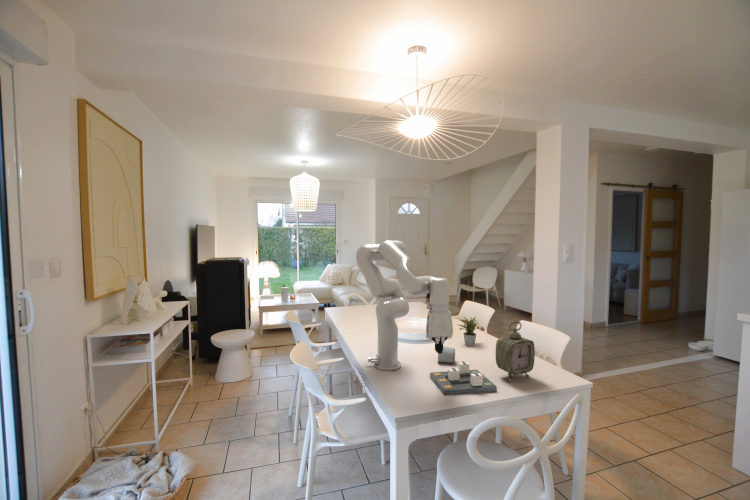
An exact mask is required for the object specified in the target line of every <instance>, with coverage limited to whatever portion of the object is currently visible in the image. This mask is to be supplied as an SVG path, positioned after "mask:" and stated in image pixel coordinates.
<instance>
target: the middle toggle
mask: <svg viewBox="0 0 750 500" xmlns="http://www.w3.org/2000/svg"><path fill="white" fill-rule="evenodd" d="M447 370H448V379H449V380H450V381H454V380H460V370H459V369H458V367H457V368H455V367H450V368H448V369H447Z"/></svg>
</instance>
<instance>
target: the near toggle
mask: <svg viewBox="0 0 750 500" xmlns="http://www.w3.org/2000/svg"><path fill="white" fill-rule="evenodd" d="M480 373H481V372H480ZM480 373H473V374H470V384H471V385H472V386H482V381H483V376H482V375H481V374H480Z"/></svg>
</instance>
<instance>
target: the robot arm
mask: <svg viewBox="0 0 750 500" xmlns="http://www.w3.org/2000/svg"><path fill="white" fill-rule="evenodd" d="M355 261H356V264H357V267H358V269H359V270H360V272H361V274H362V275H363V277H364V279H365V282H366V285H367V287H368V290H369V292H370V294H371V296H372V297H373V298H374V299H376V300H381V299H382V300H381V301H379V302H378V303H377V304H376V307H375V316H376V321H377V354H376V355H375V356H373V357H367V362H368V363H371V364H373V365H374V367H375V368H376V369H378V370H380V371H386V372H388V371H396V370H398V369H400V368H401V366H402V363H401V362H400V361H399V359H398V356H399V355H398V354H399V353H398V352H399V351H398V349H399V348H398V347H399V343H398V342H399V334H398V333H399V332H398V331H399V329H398V325H397V322H396V319H398V318H402V317H405V316H407V315H408V313H409V311H410V305H409V301H408V298H407V297H406V295H405V292H404V291H403V289H404V290H405V291H406V292H407V293H409V294H410V295H412V296H420V295H426V294H429V304H428V305H426V309H427V311H428V312H427V317H426V325H425V327H426V329H425V330H426V331H425V332H426V336H425V338H426V339H428V340H431V341H433V342H434V351H435V353H437V355H438V354H440V353H442V351H443V346H444V344H445V343H446V341H447V340H449V339H452V337H453V334H454V327H453V319H452V318H453V316H452V313H451V311H450V310H449V306H450V305H449V303H450V302H449V296H450V295H449V294H450V291H449V290H450V289H449V288H450V287H449V284H450V283H449V279H448V278H446V277H436V276H432V275H421V276H415V275H414V274H413V273H412V272H411V271H409V267H410V265H411V263H412V261H411V258H410V256H408V255H407V246H406V244H405V243H404V242H403V241H401V240H396V239H395V240H384V241H382V242H381V243H368V244H363V245H361V246H359V247H358V249H357V250H356V253H355ZM379 261H381V262H382V261H386V262H387V264H389V265H390V266H391V267H392V268H393V269H394V270H395V273H396V279H397V280H396V279H395V278H393V277H386V278H385V277H384V276H383V274H382V272H381V270H380V268H379V267H378V266H377V264H375V263H374V262H379ZM438 337H440V339H438Z"/></svg>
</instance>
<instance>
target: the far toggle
mask: <svg viewBox="0 0 750 500" xmlns="http://www.w3.org/2000/svg"><path fill="white" fill-rule="evenodd" d="M457 366H458V367H457V368H458V369H459V370H460V374H464V373H469V370H470V363H469V362H468V361H464V360H463V361H461V362H460V361H459V362H458V365H457Z"/></svg>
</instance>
